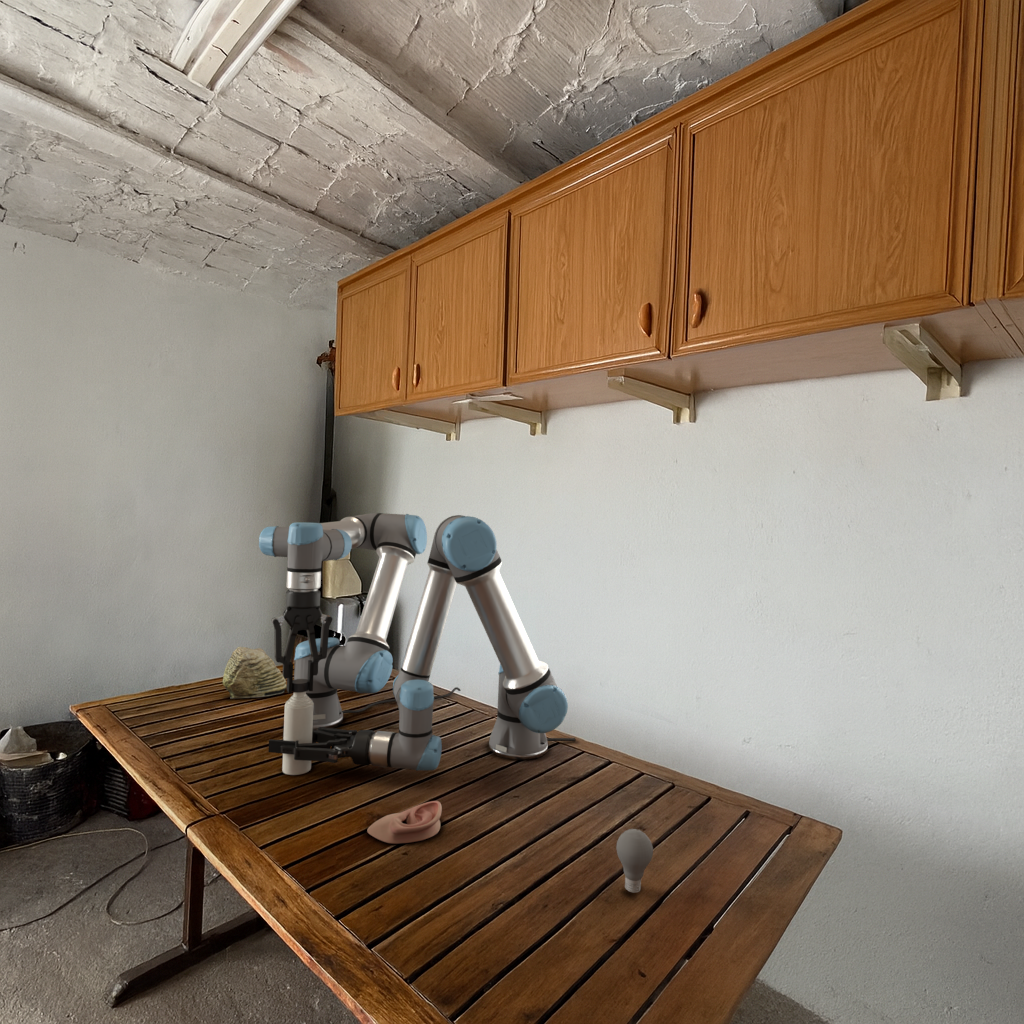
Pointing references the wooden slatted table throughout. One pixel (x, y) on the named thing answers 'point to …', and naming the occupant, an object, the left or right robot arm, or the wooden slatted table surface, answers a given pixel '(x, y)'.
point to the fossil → (252, 674)
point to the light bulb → (634, 857)
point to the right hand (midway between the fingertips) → (276, 739)
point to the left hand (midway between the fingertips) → (299, 690)
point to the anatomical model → (408, 824)
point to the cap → (300, 685)
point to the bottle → (297, 730)
